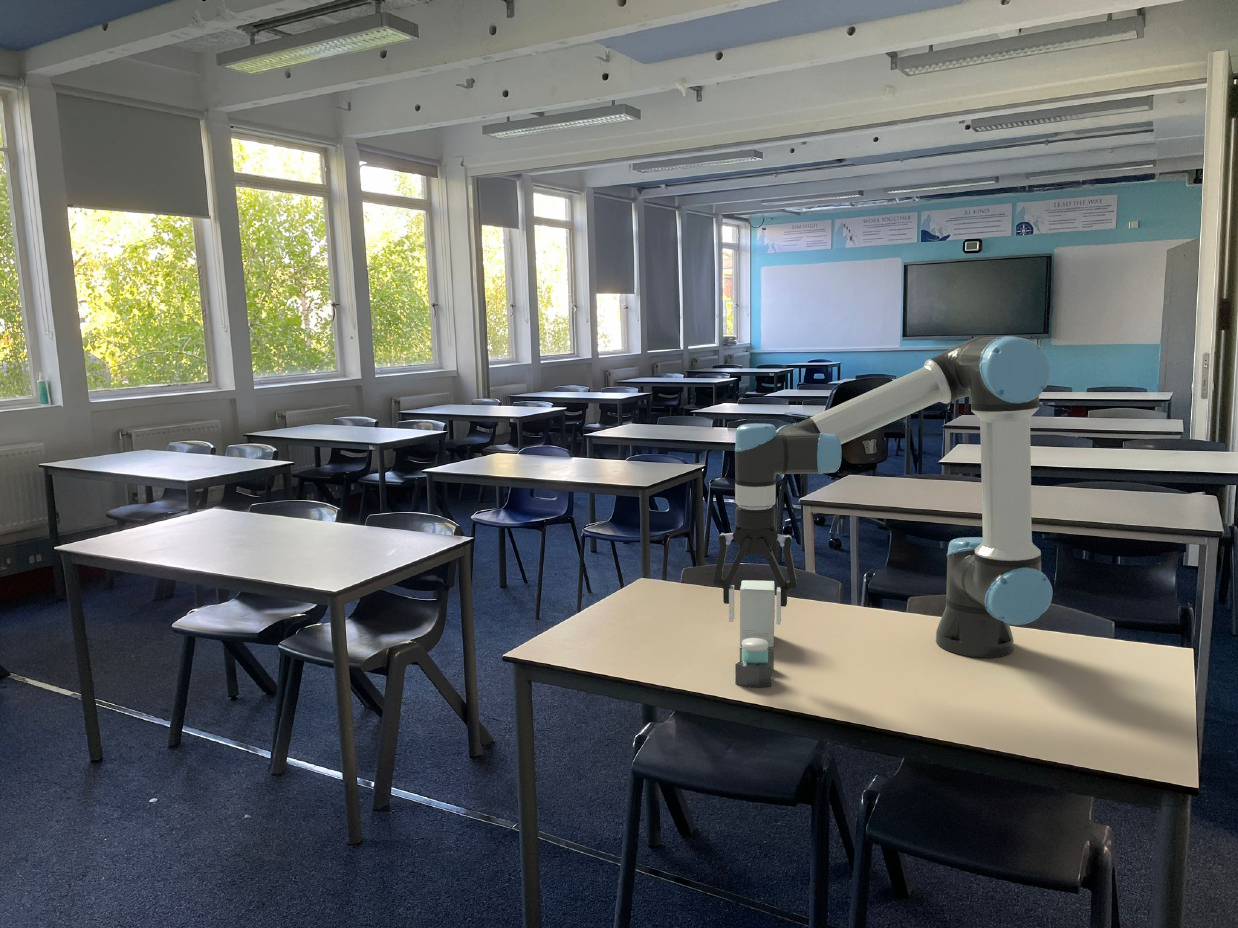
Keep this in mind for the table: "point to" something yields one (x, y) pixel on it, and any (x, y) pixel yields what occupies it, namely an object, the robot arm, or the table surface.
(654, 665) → the table surface
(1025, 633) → the table surface
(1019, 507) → the robot arm
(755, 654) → the teal lidded jar
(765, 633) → the supplement box
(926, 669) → the table surface
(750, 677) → the grey stepped block
